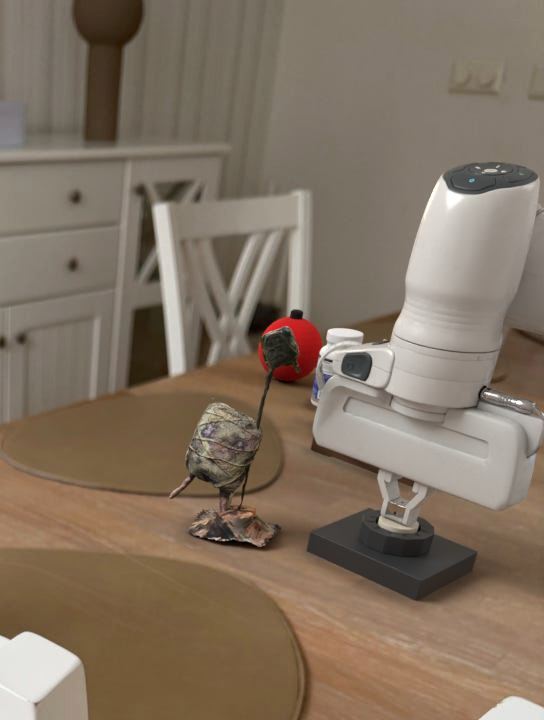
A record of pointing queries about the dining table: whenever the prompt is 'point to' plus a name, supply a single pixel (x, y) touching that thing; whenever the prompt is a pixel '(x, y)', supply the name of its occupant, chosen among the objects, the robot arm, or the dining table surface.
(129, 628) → the dining table surface
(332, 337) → the pill bottle
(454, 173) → the robot arm
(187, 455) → the stone sculpture
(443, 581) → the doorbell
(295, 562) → the dining table surface
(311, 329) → the ornament
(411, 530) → the bell button
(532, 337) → the dining table surface
